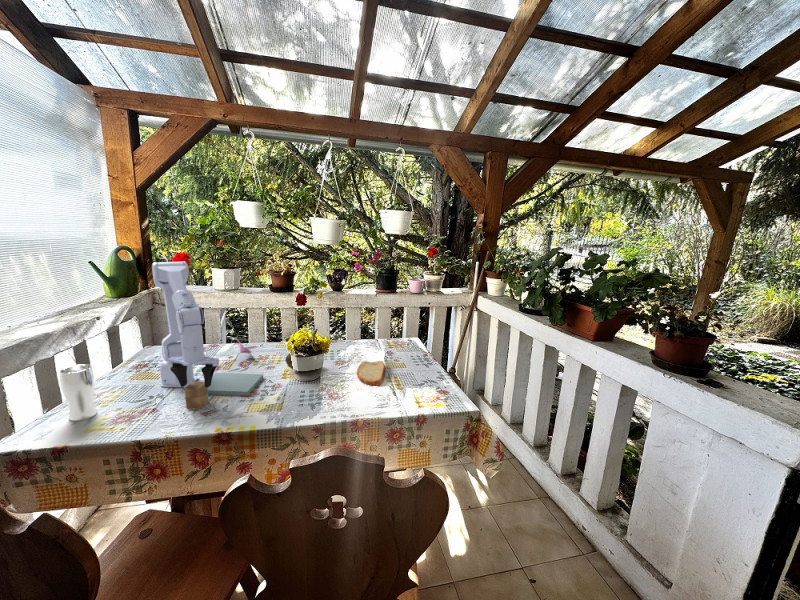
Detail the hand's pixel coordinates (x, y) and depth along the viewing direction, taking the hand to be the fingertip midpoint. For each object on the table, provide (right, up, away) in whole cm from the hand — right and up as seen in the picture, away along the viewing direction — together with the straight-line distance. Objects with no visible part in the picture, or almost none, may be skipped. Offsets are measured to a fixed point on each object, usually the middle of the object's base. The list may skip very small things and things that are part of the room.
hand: (196, 385), depth 107 cm
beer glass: (-29, -7, -7) cm, 31 cm away
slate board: (+3, -4, +15) cm, 16 cm away
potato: (+25, -2, +31) cm, 40 cm away
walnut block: (0, -7, +1) cm, 7 cm away
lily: (-3, +1, +40) cm, 40 cm away
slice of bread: (+54, -4, +30) cm, 62 cm away
